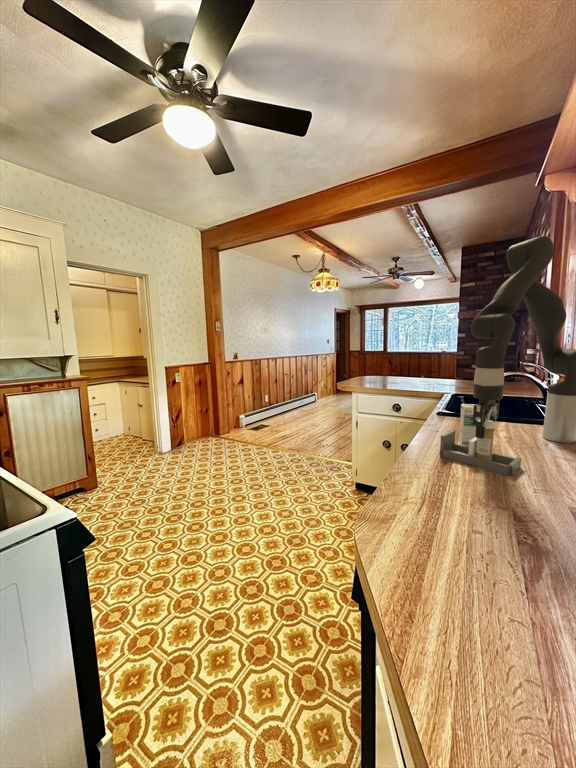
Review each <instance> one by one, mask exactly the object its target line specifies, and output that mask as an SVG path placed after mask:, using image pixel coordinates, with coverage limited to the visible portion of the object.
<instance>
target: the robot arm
mask: <svg viewBox="0 0 576 768" xmlns="http://www.w3.org/2000/svg"><path fill="white" fill-rule="evenodd" d="M554 254H555V246H554V243H553V241H552V239H551V237H549V236H547V235H542V236H541V235H540V236H537V237H533V238H531V239H527V240H524V241H522V242H519V243H516V244H513V245H511V246H510V247H509V248H508V249H507V251H506V262H507V263H506V264H507V266H508V269H509V271H510V273H511V276H510V277H509V278H508V279H507V280H506V281H504V282H503V283H502V284H501V285H500V287H499V288H498V289H497V291H496V293H495V294H494V296H493V298H492V299H491V301H490V303H489V304H487V305H486V306H485V307H484V308H482V310H480V312H479V313H478V314H476V316H475V317H474V318H473V320H472V322H471V325H470V331H471V335H473V337H474V338H476V339H479V340H488V339H490V340H493V339H494V342H493V343H492V345H490V346H483V347H480V348H478V349H477V351H476V356H475V357H476V358H475V360H476V361H475V370H474V376H473V389H472V390H473V392H472V396H473V397H474V398H475V399H478V400H479V401H478V404H474V412H473V422H472V423H473V425H476V433H475V437H476V438H481V439H483V438H484V435H485V424H486V421H487V420H491V421H494V422H495V423H496V421H497V419H498V418H499V415H500V414H499V412H500V400H502V399H503V397H504V384H505V358H506V352H507V349H508V346H509V342H510V340H511V338H512V336H513V334H514V331H515V328H516V321H515V319H514V317H513V315H514V314H515V313H516V311H517V310H518V308H519V306H520V304H521V303H522V300H524V303H525V304H524V305H525V306H526V309H527V313H528V315H529V316H528V317H530V320H531V324H532V326H533V328H534V331H535V333H536V336H537V339H538V343H539V347H540V350H541V351H540V352H541V356H542V360H543V363H544V366H545V369H546V370H547V371H548V372H549V373H551V374H555V375H565V376H564V380H563V381H560V382H557V383H556V382H555V383H551V384H549V385H548V387H547V393H546V395H547V396H546V402H545V403H546V404H545V411H544V419H543V420H544V421H543V429H542V438H544V439H545V440H549V441H552V442H557V443H564V444H569V443H570V444H572V443H573V444H574V443H575V442H576V349H575V348H574V349H573V348H572V349H571V348H562V347H561V346H560V342H559V335H560V333H561V330H562V329H563V326H564V325H565V323H566V320H567V311H566V309H565V306H564V305H565V304H564V301H563V299H562V298H561V296H560V295H558V293H556V292H555V291H554V290H552V289H551V288H549V287H548V286H545V285H544V284H543V283H541V282H540V281H538V278H539V276H540V275H541V274H543V272H544V271H545V269H546V268H547V267H548V266H549V264H550V263H551V262H552V260H553V257H554ZM479 419H480V421H479ZM495 428H496V427H495ZM495 428H494V431H495Z"/></svg>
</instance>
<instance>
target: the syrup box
mask: <svg viewBox="0 0 576 768" xmlns="http://www.w3.org/2000/svg"><path fill="white" fill-rule="evenodd" d="M474 405H475V404H472V403H469V404H468V403H461V404H460V420H459V423H460V424H459V438H458V441H459V445H463V446H468V447H469V441H470V440H471V439H473V438H475V433H476V425H473V423H472V422H473V412H474ZM479 420H480V419H479Z"/></svg>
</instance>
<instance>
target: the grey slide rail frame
mask: <svg viewBox="0 0 576 768" xmlns="http://www.w3.org/2000/svg"><path fill="white" fill-rule="evenodd" d="M455 441H456V430H454V429H452V430H450V431H448V432H445V433H443V434H441V435H440V446H439V457H442V458H446V459H448V460H452V461H456V462H459V463H463V464H467V465H470V466H474V467H478V468H481V469H485V470H488V471H490V472H491V471H492V472H495V473H499V474H502V475H506V476H508V477H509V476H510V477H513V475H515V473H516V472H517V471H518V470H519V469H521V467H522V457H519V456H516V457H513V456H508V455H504V454H500V453H495V452H492V461H489V460H486V459H482V458H478V457H476V456H470V455H468V452H469V446H463V445H461V444H460V443H456V442H455Z"/></svg>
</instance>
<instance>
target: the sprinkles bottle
mask: <svg viewBox="0 0 576 768" xmlns="http://www.w3.org/2000/svg"><path fill="white" fill-rule="evenodd" d="M479 421H480V420H479ZM494 428H496V421H495V422H494V421H491V420H487V421H486V424H485V435H484V438H483V439H481V438H477V441H476V457H478V458H482V459H486V460H489V461H492V453H494V452H493V451H494V450H493V447H494V433H495V430H494Z"/></svg>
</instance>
